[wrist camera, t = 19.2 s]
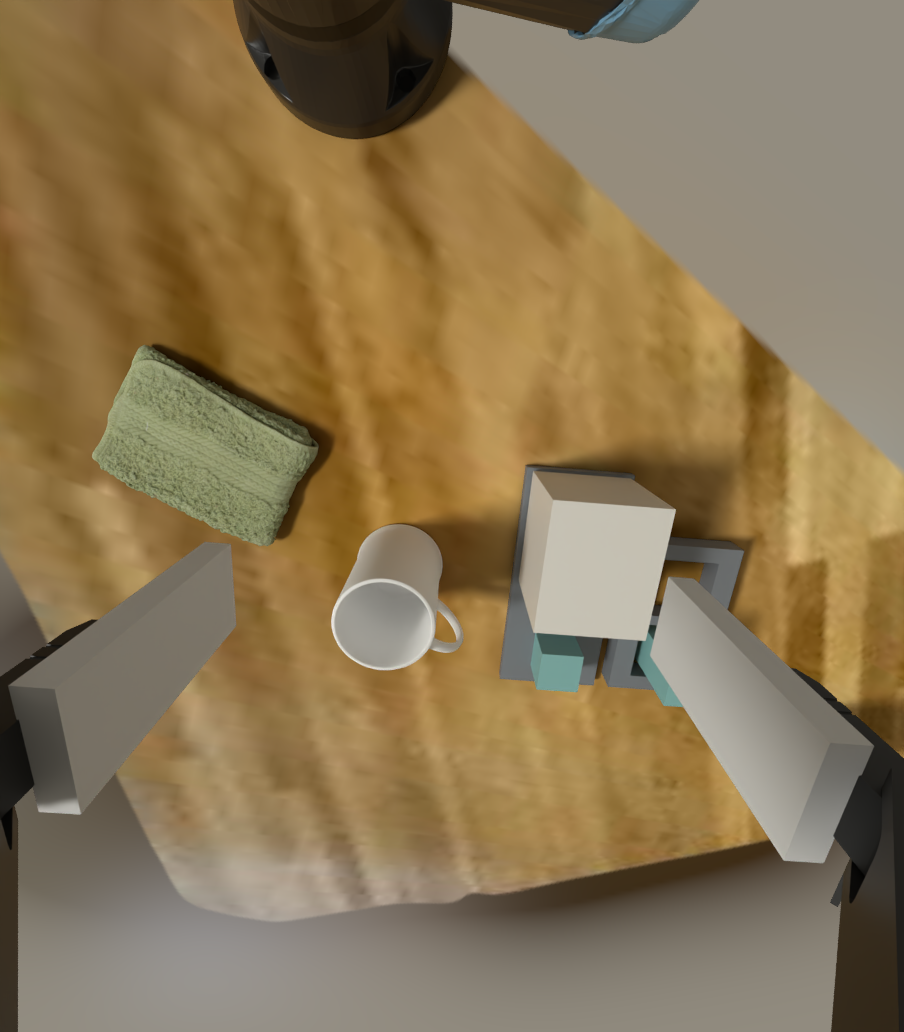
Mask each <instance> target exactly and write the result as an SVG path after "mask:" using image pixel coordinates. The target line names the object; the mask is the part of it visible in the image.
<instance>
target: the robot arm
mask: <svg viewBox="0 0 904 1032" xmlns="http://www.w3.org/2000/svg"><path fill="white" fill-rule="evenodd" d="M698 1H699V0H233V3H234V8H235V14H236V17H237V21H238V25H239V28H240V31H241V34H242V37H243V40H244V42H245V45H246V47H247V50H248V52H249V54H250V56H251V58H252V60H253V62H254V64H255V66H256V67H257V69H258V71H259V72H260V74H261V75H262V77H263V78H264V80H265V81H266V83H267V84H268V86H269V87H270V88H271V90H272V91H273V93H274V94H275V95H276V97H277V98H278V99H279V100H280V102H281V103H282V104H283V105H284V106H285V107H286V108H287V109H288V110H289V111H290V112H291V113H292V114H293V115H295V116H296V117H297V118H298V119H300V120H301V121H303V122H304V123H305V124H307V125H309V126H310V127H312V128H314V129H316V130H318V131H321V132H323V133H325V134H329V135H332V136H336V137H341V138H351V139H358V138H368V137H373V136H377V135H380V134H383V133H385V132H388V131H390V130H392V129H394V128H396V127H397V126H399V125H400V124H402V123H403V122H405V121H406V120H407V119H409V118H410V117H411V116H412V115H413V114H414V113H415V112H416V111H417V110H418V109H419V108H420V107H421V106H422V104H423V103H424V102H425V101H426V99H427V98H428V96H429V95H430V94H431V92H432V90H433V88H434V87H435V85H436V83H437V81H438V79H439V77H440V74H441V72H442V69H443V67H444V64H445V61H446V57H447V54H448V49H449V45H450V38H451V30H452V2H453V3H457V4H462V5H466V6H470V7H474V8H478V9H483V10H487V11H491V12H495V13H499V14H504V15H508V16H512V17H516V18H521V19H525V20H529V21H533V22H537V23H542V24H546V25H550V26H554V27H558V28H562V29H567V30H568V33H569V35H570V36H572V37H574V38H576V39H580V40H582V39H587V38H593V37H602V38H608V39H613V40H619V41H624V42H630V43H644V42H647V41H650V40H652V39H654V38H655V37H658V36H659V35H661V34H665V33H666V32H668V31H669V30H671V29H672V28H673V27H675V26H676V25H677V24H678V23H679V22H680V21H681V20H682V19H683V18H684V17H685V16H686V15H687V14H688V13H689V12H690V11H691V9H692V8H693V7H694V6H695V5H696V4H697V2H698ZM235 627H236V615H235V600H234V586H233V571H232V556H231V544H224V543H211V542H204V543H203V544H201V545H200V546H199V547H197V548H196V549H195V550H193V551H192V552H190V553H189V554H188V555H186V556H185V557H184V558H182V559H181V560H179V561H178V562H177V563H175V564H174V565H173V566H171V567H170V568H169V569H167V570H166V571H164V572H163V573H162V574H160V575H159V576H158V577H156V578H155V579H153V580H152V581H151V582H149V583H148V584H147V585H145V586H144V587H143V588H141V589H140V590H138V591H137V592H136V593H134V594H133V595H132V596H130V597H129V598H127V599H126V600H125V601H123V602H122V603H121V604H119V605H118V606H117V607H115V608H114V609H112V610H111V611H110V612H108V613H107V614H106V615H104V616H103V617H101V618H100V619H99V620H90V621H87V622H85V623H83V624H81V625H78V626H76V627H74V628H71V629H69V630H67V631H65V632H64V633H62V634H61V635H59V636H58V637H57V638H55V639H54V640H52V641H51V642H49V643H48V644H47V646H46V647H42V648H41V649H39V650H38V651H36V652H35V653H34V654H32V655H31V657H30V659H25V660H24V661H22V662H21V663H19V664H18V665H16V666H15V667H14V668H12V669H11V670H10V671H8V672H6V673H5V674H4V675H2V676H1V677H0V1032H18V818H17V814H16V810H15V807H14V805H15V804H16V803H17V802H18V801H19V800H20V799H21V798H22V797H23V796H24V795H25V794H26V793H27V792H28V791H29V790H30V789H31V788H32V787H33V790H34V794H35V798H36V802H37V806H38V810H39V812H50V813H66V814H82V813H83V811H84V810H85V809H86V808H87V806H88V805H89V804H90V803H91V802H92V800H93V799H94V798H95V797H96V796H97V794H98V793H99V792H100V791H101V789H102V788H103V787H104V786H105V784H106V783H107V782H108V781H109V780H110V778H111V777H112V776H113V775H114V774H115V772H116V771H117V770H118V769H119V768H120V766H121V765H122V764H123V763H124V761H125V760H126V759H127V758H128V757H129V755H130V754H131V753H132V752H133V751H134V749H135V748H136V747H137V746H138V744H139V743H140V742H141V741H142V740H143V738H144V737H145V736H146V735H147V734H148V732H149V731H150V730H151V729H152V727H153V726H154V725H155V724H156V723H157V721H158V720H159V719H160V718H161V716H162V715H163V714H164V713H165V712H166V710H167V709H168V708H169V707H170V706H171V704H172V703H173V702H174V701H175V699H176V698H177V697H178V696H179V695H180V693H181V692H182V691H183V690H184V689H185V687H186V686H187V685H188V684H189V682H190V681H191V680H192V679H193V678H194V676H195V675H196V674H197V673H198V672H199V670H200V669H201V668H202V667H203V665H204V664H205V663H206V662H207V661H208V659H209V658H210V657H211V656H212V654H213V653H214V652H215V651H216V650H217V648H218V647H219V646H220V645H221V644H222V642H223V641H224V640H225V639H226V637H227V636H228V635H229V634H230V633H231V631H232V630H233V629H234V628H235ZM650 656H651V658H652V659H653V661H654V662H655V664H656V665H657V667H658V669H659V670H660V672H661V673H662V675H663V676H664V678H665V679H666V681H667V682H668V684H669V685H670V687H671V688H672V690H673V692H674V693H675V695H676V696H677V698H678V699H679V701H680V702H681V704H682V705H683V707H684V708H685V710H686V711H687V713H688V715H689V716H690V718H691V719H692V721H693V722H694V724H695V725H696V727H697V728H698V730H699V731H700V733H701V734H702V736H703V738H704V739H705V741H706V742H707V744H708V745H709V747H710V748H711V750H712V751H713V753H714V754H715V756H716V757H717V759H718V760H719V762H720V764H721V765H722V767H723V768H724V770H725V771H726V773H727V774H728V776H729V777H730V779H731V780H732V782H733V783H734V785H735V787H736V788H737V790H738V791H739V793H740V794H741V796H742V797H743V799H744V800H745V802H746V803H747V805H748V806H749V808H750V810H751V811H752V813H753V814H754V816H755V817H756V819H757V820H758V822H759V823H760V825H761V826H762V828H763V829H764V831H765V833H766V834H767V836H768V837H769V839H770V840H771V842H772V843H773V845H774V846H775V848H776V849H777V851H778V852H779V854H780V855H781V857H782V859H783V860H785V861H800V862H815V863H824V861H825V859H826V856H827V854H828V852H829V850H830V847H831V845H832V843H833V840H834V838H835V839H836V840H837V842H838V843H839V844H840V845H841V847H842V848H843V849H844V850H845V851H846V853H847V854H848V856H849V857H850V860H849V862H848V864H847V866H846V869H845V871H844V873H843V875H842V878H841V880H840V882H839V884H838V886H837V889H836V891H835V893H834V895H833V897H832V900H831V902H830V903H832V904H833V905H835V906H837V907H838V905H839V904H840V902H841V913H840V925H839V937H838V951H837V963H836V977H835V989H834V1002H833V1015H832V1029H831V1032H904V758H903V757H901V756H900V755H899V754H898V753H897V752H896V751H895V750H894V749H893V748H891V747H890V746H889V745H888V744H887V743H886V742H885V741H884V740H882V739H881V738H880V737H879V736H878V735H877V734H876V733H875V732H873V731H872V730H871V729H870V728H869V727H868V726H867V725H866V724H865V723H863V722H862V721H861V720H860V719H859V718H858V717H857V716H856V715H852V712H851V711H850V710H849V709H848V708H847V707H846V706H844V705H843V704H842V703H841V702H837V698H835V697H834V696H833V695H832V694H831V693H830V692H829V691H828V690H827V689H825V688H824V687H823V686H822V685H821V684H820V683H818V682H817V681H815V680H813V679H812V678H810V677H808V676H807V675H805V674H803V673H802V672H800V671H798V670H797V669H793V668H790V667H789V666H787V665H786V664H785V663H784V662H783V661H782V660H781V659H780V658H779V657H778V656H777V655H776V654H774V653H773V652H772V651H771V650H770V649H769V648H768V647H767V646H766V645H765V644H764V643H763V642H762V641H760V640H759V639H758V638H757V637H756V636H755V635H754V634H753V633H752V632H751V631H750V630H749V629H748V628H746V627H745V626H744V625H743V624H742V623H741V622H740V621H739V620H738V619H737V618H736V617H735V616H733V615H732V614H731V613H730V612H729V611H728V610H727V609H726V608H725V607H724V606H723V605H722V604H721V603H719V602H718V601H717V600H716V599H715V598H714V597H713V596H712V595H711V594H710V593H709V592H708V591H707V590H705V589H704V588H703V587H702V586H701V585H700V584H699V583H698V582H697V581H696V580H695V579H692V578H678V577H668V581H667V586H666V590H665V594H664V598H663V603H662V607H661V611H660V615H659V619H658V624H657V628H656V632H655V636H654V641H653V645H652V649H651V653H650Z"/></svg>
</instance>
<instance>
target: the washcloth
mask: <svg viewBox="0 0 904 1032" xmlns="http://www.w3.org/2000/svg"><path fill="white" fill-rule="evenodd" d="M318 448H319V446H318V444H317V442H316V441H314V440H313V439H312V438H311V437H310V435H309V432H308V430H307V429H306V428H305V427H304V426H299V425H298V424H295V423H294V422H293V421H292V419H286V418H284V417H281V416H280V415H276V414H275V413H272V412H269V411H266V410H263V409H262V408H261V407H259V406H257V405H256V404H253V403H252V402H249V401H247V400H246V399H243V398H239V397H237V396H236V395H235V394H232V393H229V392H228V391H227V390H223V389H222V386H218V385H217V384H216V383H215V382H212V383H210V380H207V381H206V380H205V379H204V378H203V377H199V376H196V375H195V373H193V372H190V371H189V370H187V369H186V368H185V367H183V366H182V365H180V364H177V363H176V362H175V361H174V360H171V359H168V358H167V357H166V356H165V355H164V354H162V353H160V352H159V351H157V350H155V348H154V347H150V346H146V345H143V346H141V347H140V348H139V349H138V351H137V353H136V355H135V357H134V359H133V361H132V366H131V368H130V370H129V372H128V374H127V376H126V377H125V380H124V382H123V383H122V386H121V388H120V390H119V392H118V394H117V395H116V397H115V399H114V404H113V407H112V409H111V410H110V412H109V415H108V425H107V428H106V431H105V433H104V436H103V438H102V440H101V442H100V443H99V445H98V446H97V448H96V449H95V450H94V452H93V455H92V458H93V459H94V460H96V461H97V462H99V464H100V468H101V469H103V470H105V471H108V473H109V474H111V475H114V476H115V477H116V478H117V479H120V480H121V481H123V482H125V483H126V485H127V486H129V487H131V488H133V489H135V490H136V491H143V492H144V493H147V495H150V496H151V498H154V497H156V498H157V499H159V500H161V501H162V502H164V503H168V505H169V506H172V507H174V508H175V507H176V508H177V509H178V510H179V511H184V512H185V513H186V514H187V515H190V516H191V517H193V518H196V519H199V521H201V520H204V522H206V523H208V525H209V526H212V527H213V528H214V529H220V531H221V532H223V533H228V534H231V535H232V536H237V537H239V538H242V540H243V541H248V542H252V543H254V544H257V545H259V546H262V545H266V546H268V545H271V544H272V543H273V542H274V540H276V539H275V538H274V537H276V535H277V532H278V530H279V527H280V525H281V522H282V521H283V517H284V515H285V514H286V513H287V511H288V508H289V507H290V506H289V499H290V497H291V496H292V493H293V491H294V489H295V486H296V484H297V482H298V481H300V480H301V479H302V477H303V476H304V474H305V473H306V472H307V471H306V470H307V469H308V468H309V467H310V464H311V463H312V462H313V461H314V459H315V457H316V456H317V452H318Z"/></svg>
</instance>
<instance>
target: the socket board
mask: <svg viewBox="0 0 904 1032" xmlns="http://www.w3.org/2000/svg"><path fill="white" fill-rule="evenodd" d="M743 554H744V550H742V549H741V548H739V547H738V546H736V545H735V544H733V543H732V542H730V541H717V540H704V539H691V538H678V537H670V538H669V542H668V547H667V551H666V555H665V560H675V561H689V562H702V563H704V567H703V571H702V574H701V578H700V582H699V584H700V585H701V586H702V587H703V588H704V589H705V590H707V591H708V592H709V593H710V594H711V595H712V596H713V597H714V598H715V599H716V600H717V601H718V602H719V603H721V604H722V605H723V606H724V607H725V608H726V609H727V610H728V606H729V603H730V599H731V596H732V592H733V589H734V585H735V582H736V578H737V575H738V571H739V568H740V564H741V561H742V557H743ZM661 607H662V606H661V605H654V607H653V611H652V616H651V620H650V624H649V625H657V624H658V619H659V615H660V611H661ZM637 643H638V640H626V639H613V638H608V643H607V648H606V653H605V658H604V663H603V668H602V674H603V677H604V679H605V681H606V683H607V685H608V687H621V688H635V689H649V690H654V689H653V687H652V685H651V684H650V682H649V680H648V679H647V677H646V675H645V673H644V672H643V670H642V668H641V667H640V665H639V663H633V661H634V656H635V652H636V647H637Z"/></svg>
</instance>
